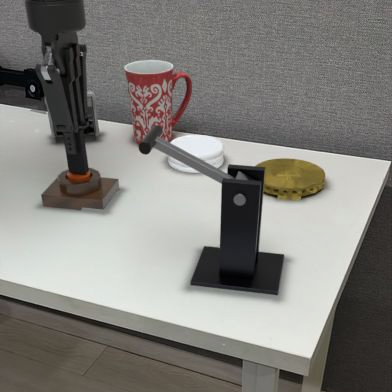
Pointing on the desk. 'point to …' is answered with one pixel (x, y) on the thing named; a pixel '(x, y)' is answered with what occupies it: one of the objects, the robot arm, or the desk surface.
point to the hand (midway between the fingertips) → (78, 171)
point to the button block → (80, 192)
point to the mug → (154, 96)
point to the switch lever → (183, 156)
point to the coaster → (198, 151)
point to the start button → (78, 176)
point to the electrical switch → (92, 117)
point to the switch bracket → (240, 240)
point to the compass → (292, 178)
